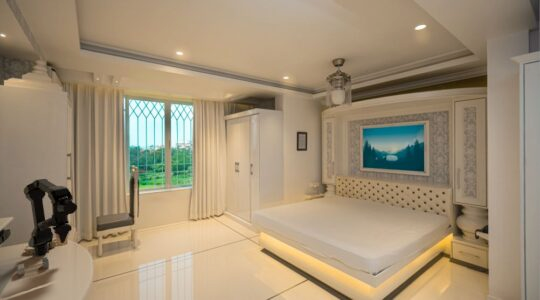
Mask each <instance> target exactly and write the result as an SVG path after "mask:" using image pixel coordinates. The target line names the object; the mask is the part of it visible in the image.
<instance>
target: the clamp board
mask: <svg viewBox="0 0 540 300" xmlns="http://www.w3.org/2000/svg"><path fill="white" fill-rule="evenodd" d="M24 271H25V275H23V276H20V277H19V276H18V278H19V280H21V279H25V278H28V277H31V276H35V275H37V274H40V273H45V272H48V271H50V267H49V268H47V269H43V266H42V262H40V263H38V264H35V265H31V266H28V267H24Z"/></svg>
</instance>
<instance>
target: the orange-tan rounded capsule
mask: <svg viewBox="0 0 540 300" xmlns="http://www.w3.org/2000/svg"><path fill="white" fill-rule="evenodd" d="M55 239H56V241H55V242H56V245H55V246H56V247H62V246H66V245H68V243H69V242H68V240H69V239H68V236H67V237H66V239H65V242H64V243H61V241H60V238H59V235H58V234H55Z"/></svg>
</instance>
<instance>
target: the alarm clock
mask: <svg viewBox="0 0 540 300" xmlns="http://www.w3.org/2000/svg"><path fill="white" fill-rule="evenodd" d="M55 246H57V245H56V238H55V239H52V242H49V243H48V250H49V249H53V248H55ZM23 251H24V252H25V254H26V253H27V254H26V255H32V254H31V253H34V248H32V247H29V244H28V245H26V246H25V247H24V249H23Z"/></svg>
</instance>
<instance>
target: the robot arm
mask: <svg viewBox="0 0 540 300" xmlns="http://www.w3.org/2000/svg"><path fill="white" fill-rule="evenodd" d="M23 194H24V196H25V198H26V200H28V201H29V202H30V206H31V211H32V212H31V213H32V219H33V225H34V227H33V229H32V232H31V233H30V235H31V237H30V239H29V240H28V245H29V247H32V248H34V254H32V256H33V257H41V256H44V255H47V254H49V253H50V250H49V249H48V243H49V242H52V239H53V238H54V237H53V236H54V234H55V235H56V234H58V235H59V238H60V241H61V243H64V242H65V239H66V237H67V238H68V235H69V233H70V231H72V230H73V229H72V225H71V224H69V218H68V216H69V215H71V214H75V212H76V211H77V209H78V205H77V204H76V203H75V202H73V199H74V198H73V196H74V195H72V192H71V190H70V189H69V188H68V187H67V186H63V185H56V184H54V183H52V182H51V181H49V180H48V178H41V179H40V178H39V179H35V180H33V182H31V183H29V184H27V185H26V186H25V187H24V188H23ZM46 195H47V197H48V198H49V200H50V203H51V207H52V209H51V210H52V214H51V217H49V218H47V219H46V216H45V209H44V207H45V206H44V200H43V199H44V198H45V196H46ZM51 227H52V228H51ZM52 230H54V231H53V232H54V233H53V232H52ZM53 240H54V239H53Z"/></svg>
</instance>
